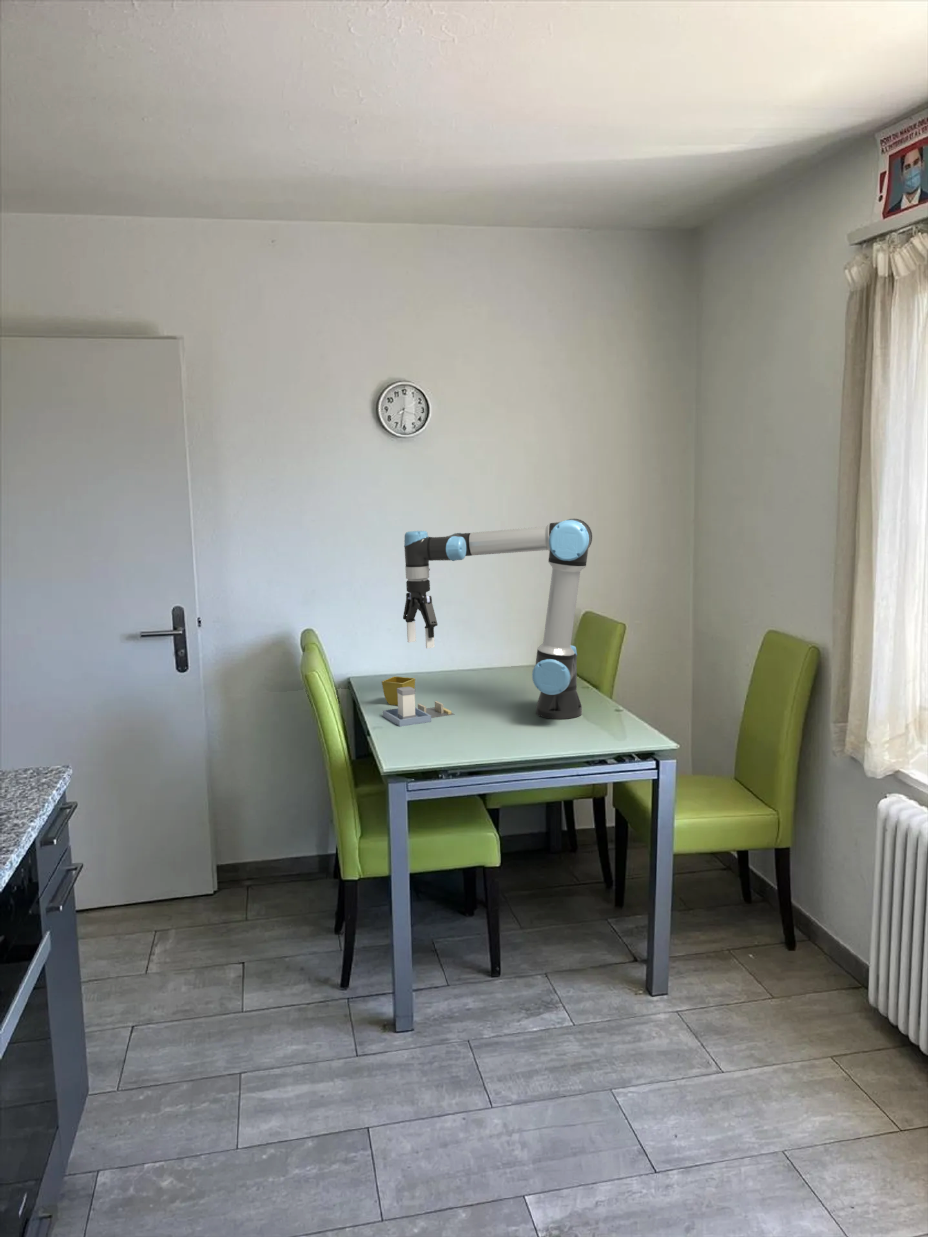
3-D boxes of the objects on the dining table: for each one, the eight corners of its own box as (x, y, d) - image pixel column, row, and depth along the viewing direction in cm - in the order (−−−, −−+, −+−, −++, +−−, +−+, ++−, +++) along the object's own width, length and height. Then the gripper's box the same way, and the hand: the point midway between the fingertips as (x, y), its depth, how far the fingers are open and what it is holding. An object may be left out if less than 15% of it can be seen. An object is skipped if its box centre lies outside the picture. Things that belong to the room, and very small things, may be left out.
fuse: (416, 719, 294) (415, 689, 293) (403, 721, 292) (402, 691, 291) (410, 716, 298) (409, 686, 297) (397, 718, 296) (396, 688, 295)
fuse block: (454, 715, 300) (454, 705, 300) (427, 720, 296) (427, 709, 295) (439, 707, 311) (438, 697, 310) (412, 711, 306) (412, 701, 306)
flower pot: (381, 706, 314) (381, 681, 313) (395, 700, 322) (394, 675, 320) (403, 709, 310) (402, 683, 309) (416, 703, 318) (416, 678, 316)
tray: (431, 723, 292) (431, 715, 291) (399, 728, 287) (399, 720, 287) (413, 713, 304) (413, 706, 304) (382, 717, 299) (382, 710, 299)
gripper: (446, 581, 282) (449, 648, 285) (411, 575, 304) (414, 638, 307) (424, 583, 278) (427, 651, 282) (391, 577, 300) (394, 640, 303)
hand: (420, 644), depth 294 cm, fingers open, 13 cm apart
